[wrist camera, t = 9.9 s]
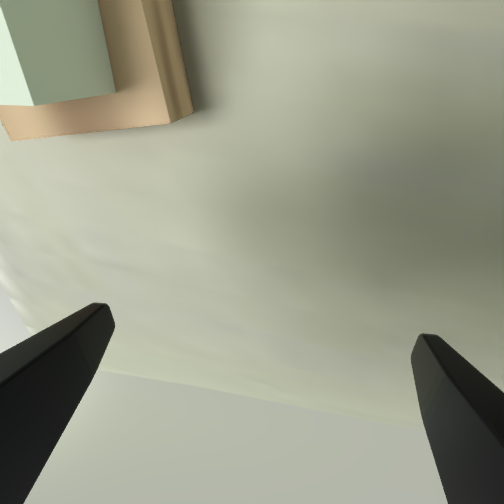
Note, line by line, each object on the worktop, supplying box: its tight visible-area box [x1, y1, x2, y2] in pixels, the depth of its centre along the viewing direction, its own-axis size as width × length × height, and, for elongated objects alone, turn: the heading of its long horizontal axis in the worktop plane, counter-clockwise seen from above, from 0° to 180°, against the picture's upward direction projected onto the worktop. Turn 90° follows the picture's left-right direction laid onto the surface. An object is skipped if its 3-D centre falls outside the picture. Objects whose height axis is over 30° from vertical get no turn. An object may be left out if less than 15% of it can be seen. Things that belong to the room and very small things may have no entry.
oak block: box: [0, 0, 194, 141], centre depth 15 cm, size 9×9×4 cm
